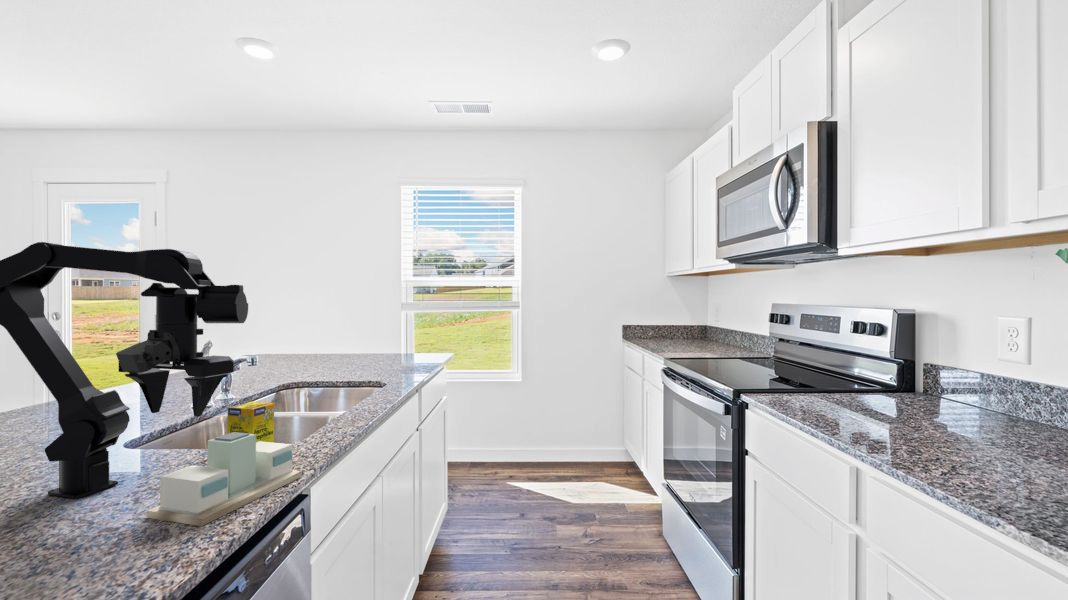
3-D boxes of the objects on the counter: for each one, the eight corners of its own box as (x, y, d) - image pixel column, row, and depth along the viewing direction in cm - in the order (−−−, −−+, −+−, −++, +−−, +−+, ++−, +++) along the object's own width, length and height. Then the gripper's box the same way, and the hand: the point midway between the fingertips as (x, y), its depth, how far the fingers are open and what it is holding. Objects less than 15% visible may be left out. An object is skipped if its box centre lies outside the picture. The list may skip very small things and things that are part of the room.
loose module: (207, 490, 78) (207, 438, 78) (233, 479, 83) (233, 430, 83) (230, 493, 77) (230, 441, 77) (255, 482, 82) (255, 432, 82)
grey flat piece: (158, 510, 72) (158, 507, 72) (260, 467, 90) (260, 465, 90) (196, 516, 70) (196, 513, 70) (292, 471, 88) (292, 468, 88)
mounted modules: (160, 507, 72) (160, 476, 72) (259, 465, 90) (259, 441, 90) (200, 513, 70) (200, 481, 70) (293, 469, 88) (294, 444, 88)
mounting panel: (146, 517, 72) (146, 510, 72) (255, 471, 91) (255, 465, 91) (201, 526, 69) (201, 519, 69) (301, 476, 88) (301, 471, 88)
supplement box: (252, 466, 94) (253, 408, 94) (225, 463, 95) (226, 407, 95) (274, 456, 100) (275, 402, 100) (249, 454, 101) (249, 400, 101)
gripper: (83, 324, 79) (82, 422, 79) (175, 327, 74) (174, 430, 74) (152, 321, 89) (151, 407, 89) (236, 323, 85) (235, 414, 85)
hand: (176, 414), depth 84 cm, fingers open, 9 cm apart
